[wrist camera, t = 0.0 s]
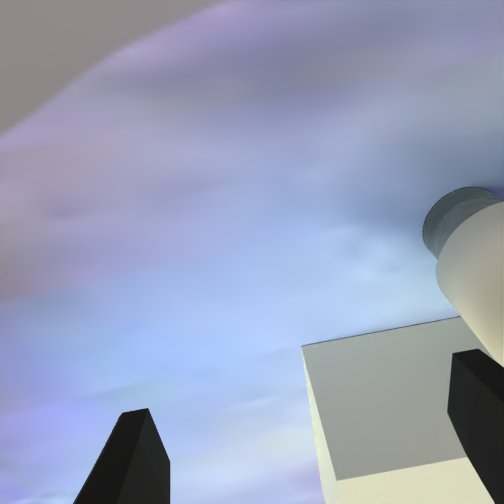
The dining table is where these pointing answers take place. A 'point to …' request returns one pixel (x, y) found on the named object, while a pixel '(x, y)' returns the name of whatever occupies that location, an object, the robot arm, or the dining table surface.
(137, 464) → the robot arm
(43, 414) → the dining table surface
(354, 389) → the box
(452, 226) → the stand
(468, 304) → the cream cylinder
